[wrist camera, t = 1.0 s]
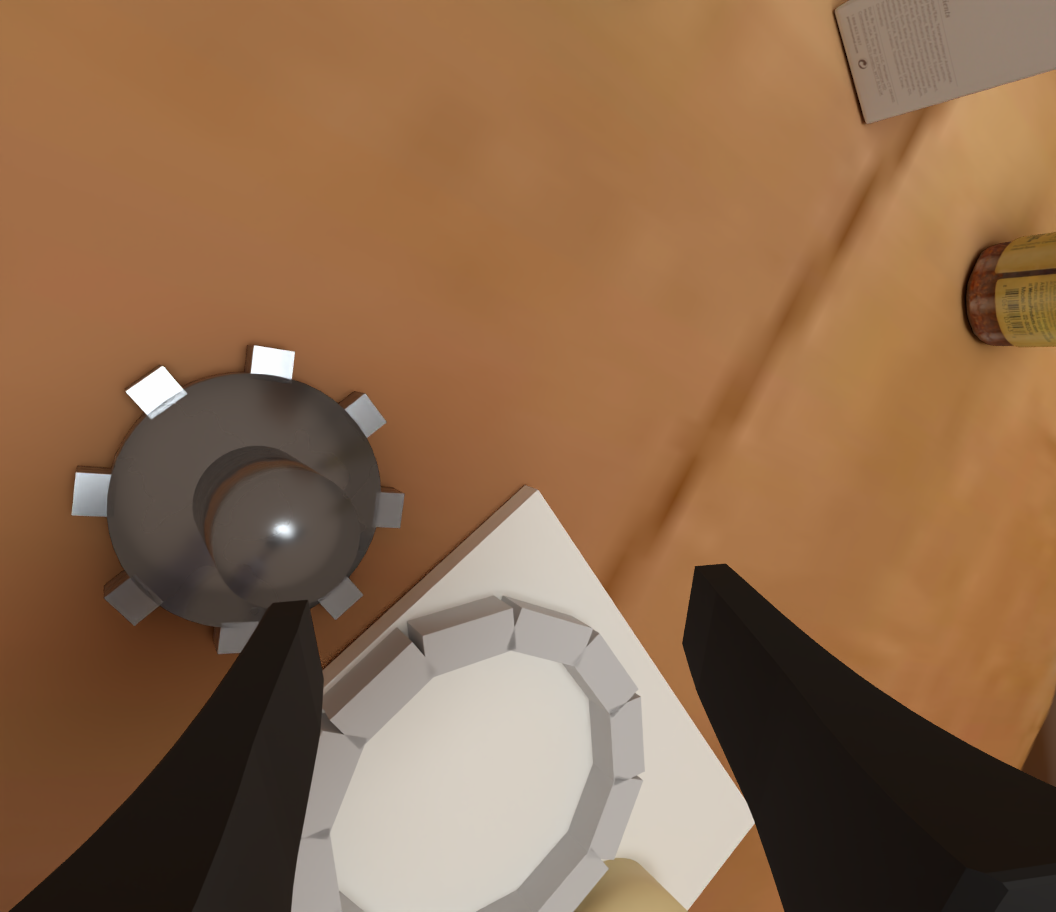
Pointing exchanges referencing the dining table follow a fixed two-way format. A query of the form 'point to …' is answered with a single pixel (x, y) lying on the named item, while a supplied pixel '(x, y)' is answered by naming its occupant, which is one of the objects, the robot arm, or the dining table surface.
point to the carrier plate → (509, 748)
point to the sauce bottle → (1015, 293)
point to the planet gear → (239, 497)
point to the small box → (942, 49)
